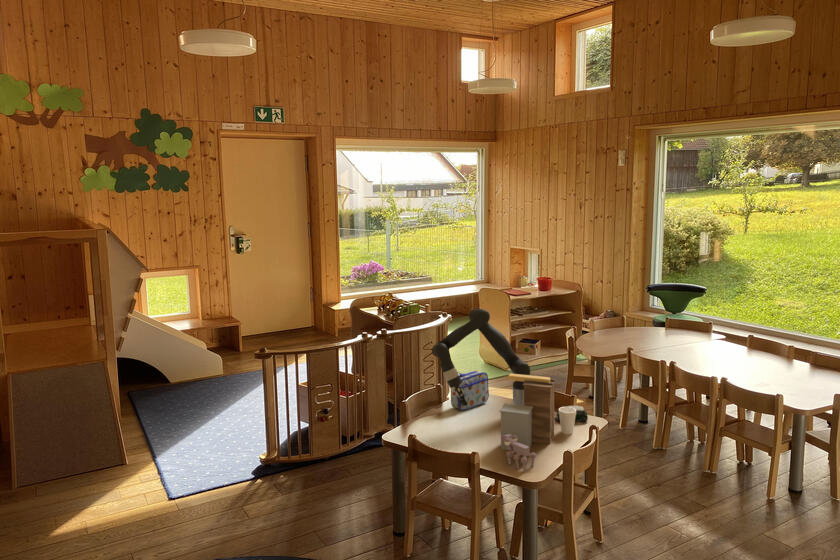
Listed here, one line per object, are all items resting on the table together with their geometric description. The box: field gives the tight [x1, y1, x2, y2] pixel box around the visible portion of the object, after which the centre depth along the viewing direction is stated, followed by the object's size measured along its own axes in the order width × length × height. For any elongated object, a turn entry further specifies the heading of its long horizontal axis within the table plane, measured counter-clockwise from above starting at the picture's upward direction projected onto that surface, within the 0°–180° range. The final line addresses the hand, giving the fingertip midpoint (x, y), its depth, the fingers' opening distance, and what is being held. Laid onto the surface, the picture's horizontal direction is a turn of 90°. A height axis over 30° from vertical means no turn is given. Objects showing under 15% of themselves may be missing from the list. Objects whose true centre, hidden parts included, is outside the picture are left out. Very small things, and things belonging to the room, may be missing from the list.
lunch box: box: [449, 370, 490, 412], centre depth 398 cm, size 28×10×22 cm, turn 130°
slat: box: [507, 372, 551, 383], centre depth 347 cm, size 4×22×2 cm, turn 68°
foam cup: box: [558, 406, 576, 435], centre depth 357 cm, size 10×9×13 cm
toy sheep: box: [500, 434, 537, 473], centre depth 322 cm, size 20×11×14 cm, turn 40°
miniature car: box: [555, 405, 589, 424], centre depth 374 cm, size 9×18×8 cm, turn 81°
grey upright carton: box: [499, 403, 533, 451], centre depth 339 cm, size 11×15×22 cm
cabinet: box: [523, 378, 556, 445], centre depth 348 cm, size 13×15×33 cm
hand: (464, 404), depth 353 cm, fingers open, 8 cm apart
